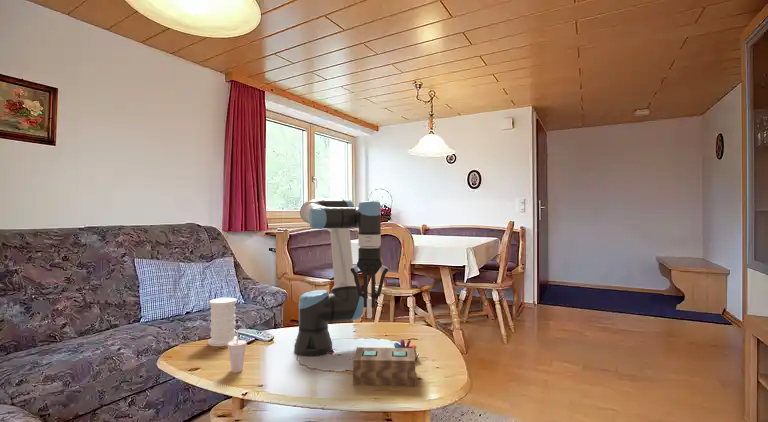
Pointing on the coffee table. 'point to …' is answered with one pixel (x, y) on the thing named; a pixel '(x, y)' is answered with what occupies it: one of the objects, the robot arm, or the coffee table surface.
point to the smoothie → (237, 354)
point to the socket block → (384, 367)
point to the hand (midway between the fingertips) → (369, 317)
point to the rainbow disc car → (402, 345)
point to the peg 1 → (369, 353)
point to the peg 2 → (399, 354)
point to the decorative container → (222, 321)
